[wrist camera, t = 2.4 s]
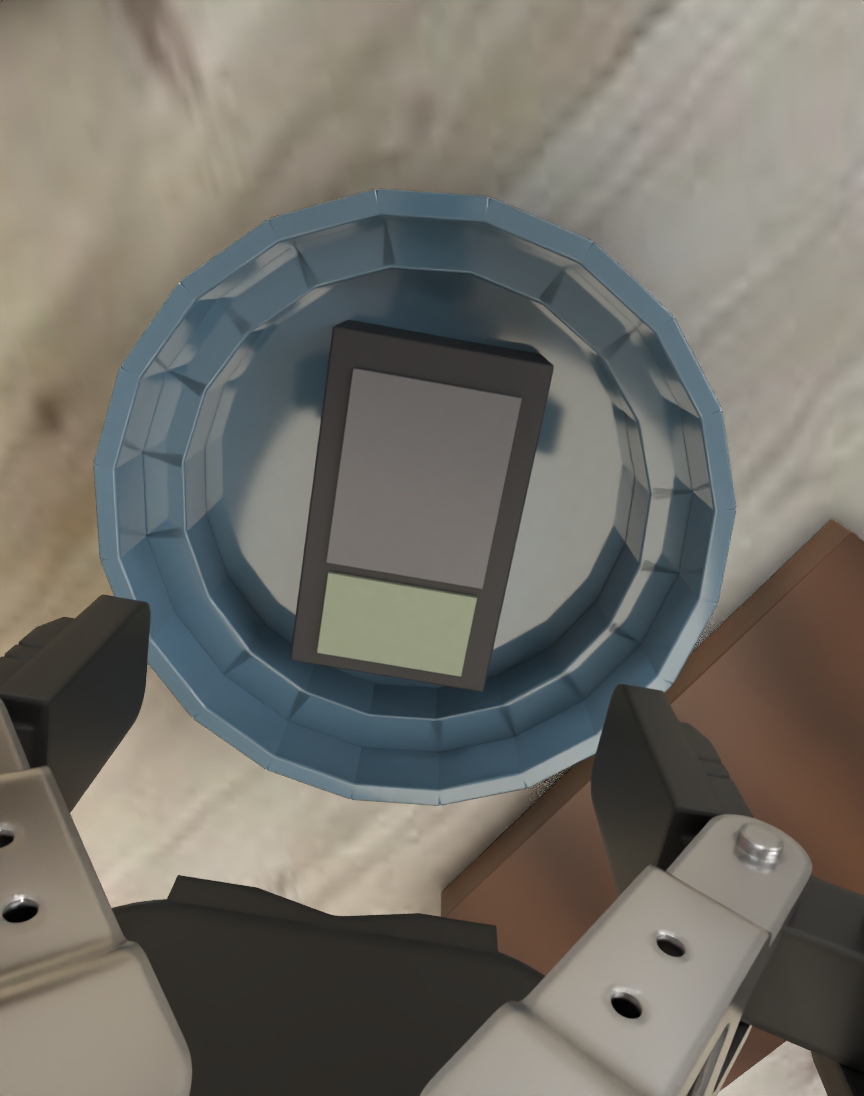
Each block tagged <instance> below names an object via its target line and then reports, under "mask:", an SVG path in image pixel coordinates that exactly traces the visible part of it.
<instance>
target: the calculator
mask: <svg viewBox="0 0 864 1096" xmlns="http://www.w3.org/2000/svg"><path fill="white" fill-rule="evenodd" d="M553 370H554V365H553V364H551V363H550V362H549V361H548V360H547V359H546V358H545V357H544V356H543V355H541V354H537V353H532V352H526V351H521V350H515V349H509V348H504V347H498V346H493V345H487V344H482V343H476V342H470V341H465V340H459V339H454V338H448V337H443V336H437V335H432V334H426V333H420V332H415V331H409V330H404V329H398V328H393V327H387V326H381V325H376V324H370V323H365V322H359V321H354V320H346V321H344V322H342V323H340V324H337V325H335V326H334V327H333V331H332V338H331V346H330V354H329V362H328V369H327V377H326V385H325V392H324V400H323V408H322V415H321V423H320V431H319V439H318V446H317V454H316V462H315V469H314V477H313V485H312V492H311V500H310V508H309V516H308V523H307V531H306V539H305V546H304V554H303V562H302V570H301V577H300V585H299V593H298V600H297V608H296V616H295V623H294V631H293V639H292V647H291V654H290V659H291V660H292V661H297V662H303V663H310V664H316V665H322V666H328V667H334V668H340V669H346V670H352V671H358V672H364V673H370V674H376V675H382V676H388V677H394V678H400V679H406V680H412V681H418V682H424V683H430V684H436V685H442V686H448V687H454V688H460V689H466V690H472V691H479V692H483V691H484V689H485V684H486V679H487V675H488V670H489V666H490V661H491V656H492V652H493V647H494V643H495V638H496V633H497V629H498V624H499V619H500V615H501V610H502V606H503V601H504V596H505V592H506V587H507V582H508V578H509V573H510V569H511V564H512V559H513V555H514V550H515V546H516V541H517V536H518V532H519V527H520V522H521V518H522V513H523V509H524V504H525V499H526V495H527V490H528V485H529V481H530V476H531V472H532V467H533V462H534V458H535V453H536V449H537V444H538V439H539V435H540V430H541V425H542V421H543V416H544V412H545V407H546V402H547V398H548V393H549V388H550V384H551V379H552V375H553Z"/></svg>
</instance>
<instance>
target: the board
mask: <svg viewBox="0 0 864 1096" xmlns="http://www.w3.org/2000/svg"><path fill="white" fill-rule="evenodd" d="M664 694H665V695H666V697H667V699H668V701H669V703H670V705H671V707H672V709H673V711H674V713H675V714H676V716H677V718H678V720H679V722H684V723H690V724H691V725H692V726H693V727H694V728H696V729H697V730H698V731H699V732H700V733H701V734H702V735H704V736H705V737H706V738H707V739H708V740H709V741H711V743H712V745H713V746H714V748H715V750H716V752H717V753H718V755H719V757H720V759H721V760H722V761H721V764H724V766H725V767H726V769H727V771H728V773H729V774H730V780H733V782H734V783H735V785H736V787H737V789H738V790H739V792H740V794H741V796H742V797H743V799H744V801H745V803H746V804H747V806H748V808H749V810H750V811H751V813H752V815H753V817H754V818H755V819H758V820H760V821H763V822H766V823H768V824H770V825H772V826H774V827H776V828H778V829H779V830H781V831H783V832H784V833H786V834H787V835H789V836H790V837H791V838H793V839H794V840H795V841H796V842H797V843H798V844H799V845H800V846H801V847H802V848H803V849H804V850H805V851H806V853H807V854H808V856H809V858H810V860H811V863H812V872H811V875H812V876H814V877H816V878H818V879H821V880H823V881H826V882H828V883H831V884H833V885H836V886H839V887H842V888H844V889H847V890H850V891H853V892H855V893H858V894H861V895H864V542H863V541H862V540H861V539H860V538H859V537H858V536H857V535H856V534H854V533H853V532H852V531H850V530H849V529H847V528H846V527H844V526H843V525H841V524H840V523H838V522H836V521H835V520H833V519H832V520H830V521H829V522H828V523H827V524H826V525H825V526H824V527H823V528H822V529H821V530H820V531H819V532H818V533H817V534H816V535H815V536H813V537H812V538H811V539H810V540H809V541H808V542H807V543H806V544H805V545H804V546H803V547H802V548H801V549H800V550H799V551H798V552H797V553H796V554H795V555H794V556H793V557H792V558H791V559H789V560H788V561H787V562H786V563H785V564H784V565H783V566H782V567H781V568H780V569H779V570H778V571H777V572H776V573H775V574H774V575H773V576H772V577H771V578H770V579H769V580H768V581H767V582H765V583H764V584H763V585H762V586H761V587H760V588H759V589H758V590H757V591H756V592H755V593H754V594H753V595H752V596H751V597H750V598H749V599H748V600H747V601H746V602H745V603H744V604H743V605H741V606H740V607H739V608H738V609H737V610H736V611H735V612H734V613H733V614H732V615H731V616H730V617H729V618H728V619H727V620H726V621H725V622H724V623H723V624H722V625H721V626H720V627H719V628H717V629H716V630H715V631H714V632H713V633H712V634H711V635H710V636H709V637H708V638H707V639H706V640H705V641H704V642H703V643H702V644H701V645H700V646H699V647H698V648H697V649H696V650H695V651H693V652H692V653H691V654H690V655H689V657H688V659H687V660H686V662H685V664H684V666H683V668H682V669H681V671H680V673H679V675H678V677H677V678H676V680H675V682H674V683H673V684H672V686H671V687H670V688H669V689H668V690H667V691H666V692H665V693H664ZM594 758H595V754H594V755H592V756H590V757H588V758H586V759H584V760H582V761H580V762H578V763H577V764H576V765H574V766H573V767H572V768H571V769H570V770H569V771H568V772H567V773H566V774H565V775H564V776H563V777H562V778H561V779H560V780H559V781H558V782H557V783H556V784H555V785H554V786H553V787H552V788H550V789H549V790H548V791H547V792H546V793H545V794H544V795H543V796H542V797H541V798H540V799H539V800H538V801H537V802H536V803H535V804H534V805H533V806H532V807H531V808H530V809H529V810H528V811H526V812H525V813H524V814H523V815H522V816H521V817H520V818H519V819H518V820H517V821H516V822H515V823H514V824H513V825H512V826H511V827H510V828H509V829H508V830H507V831H506V832H505V833H504V834H502V835H501V836H500V837H499V838H498V839H497V840H496V841H495V842H494V843H493V844H492V845H491V846H490V847H489V848H488V849H487V850H486V851H485V852H484V853H483V854H482V855H481V856H480V857H478V858H477V859H476V860H475V861H474V862H473V863H472V864H471V865H470V866H469V867H468V868H467V869H466V870H465V871H464V872H463V873H462V874H461V875H460V876H459V877H458V878H457V879H456V880H454V881H453V882H452V883H451V884H450V885H449V886H448V887H447V888H446V889H445V890H444V891H443V892H442V893H441V917H445V918H451V919H458V920H464V921H470V922H477V923H483V924H489V925H496V927H497V941H498V952H501V953H504V954H506V955H509V956H511V957H513V958H515V959H517V960H519V961H521V962H523V963H525V964H527V965H529V966H530V967H532V968H534V969H535V970H537V971H539V972H540V973H542V974H543V975H545V976H546V975H547V974H548V973H549V972H550V971H551V970H552V969H553V967H554V966H555V965H556V964H557V963H558V962H559V961H560V960H561V959H562V958H563V957H564V956H565V954H566V953H567V952H568V951H569V950H570V949H571V948H572V947H573V946H574V945H575V944H576V943H577V941H578V940H579V939H580V938H581V937H582V936H583V935H584V934H585V933H586V932H587V931H588V929H589V928H590V927H591V926H592V925H593V924H594V923H595V922H596V921H597V920H598V919H599V918H600V916H601V915H602V914H603V913H604V912H605V911H606V910H607V909H608V908H609V907H610V906H611V905H612V903H613V902H614V901H615V900H616V899H617V898H618V893H617V890H616V886H615V883H614V879H613V875H612V872H611V868H610V864H609V861H608V857H607V853H606V850H605V846H604V843H603V839H602V835H601V832H600V828H599V824H598V821H597V817H596V814H595V810H594V806H593V803H592V798H591V773H592V767H593V762H594ZM785 1041H786V1040H784V1039H782V1038H779V1037H777V1036H775V1035H772V1034H770V1033H768V1032H765V1031H763V1030H760V1029H758V1028H756V1027H753V1026H752V1027H751V1030H750V1032H749V1035H748V1037H747V1039H746V1041H745V1042H744V1044H743V1046H742V1048H741V1050H740V1052H739V1054H738V1056H737V1058H736V1060H735V1062H734V1064H733V1066H732V1068H731V1069H730V1071H729V1073H728V1075H727V1077H726V1079H725V1081H724V1083H723V1085H722V1087H721V1089H720V1091H721V1090H722V1089H723V1088H725V1087H726V1086H727V1085H729V1084H730V1083H731V1082H733V1081H734V1080H735V1079H737V1078H738V1077H739V1076H741V1075H742V1074H743V1073H744V1072H746V1071H747V1070H748V1069H750V1068H751V1067H752V1066H754V1065H755V1064H756V1063H758V1062H759V1061H760V1060H762V1059H763V1058H764V1057H766V1056H767V1055H768V1054H770V1053H771V1052H772V1051H773V1050H775V1049H776V1048H777V1047H779V1046H780V1045H781V1044H783V1043H784V1042H785Z"/></svg>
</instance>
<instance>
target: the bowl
mask: <svg viewBox="0 0 864 1096" xmlns="http://www.w3.org/2000/svg"><path fill="white" fill-rule="evenodd" d="M180 282H181V283H178V284H177V285H176V287H175V288H174V290H173V291H172V292H171V294H170V295H169V297H168V298H167V300H166V301H165V302H164V304H163V305H162V307H161V308H160V310H159V311H158V313H157V314H156V315H155V317H154V318H153V320H152V321H151V323H150V324H149V325H148V327H147V328H146V330H145V331H144V333H143V334H142V336H141V337H140V338H139V340H138V341H137V343H136V344H135V346H134V347H133V349H132V350H131V351H130V353H129V354H128V356H127V357H126V359H125V360H124V361H123V363H122V364H121V368H119V371H118V374H117V378H116V382H115V385H114V389H113V393H112V396H111V400H110V404H109V407H108V411H107V415H106V418H105V422H104V426H103V429H102V433H101V437H100V440H99V444H98V448H97V451H96V455H95V459H94V479H95V494H96V509H97V524H98V539H99V555H100V559H101V564H102V567H103V569H104V572H105V574H106V577H107V579H108V582H109V584H110V587H111V589H112V592H113V594H114V597H120V598H126V599H132V600H138V601H144V602H148V603H149V606H150V611H151V621H150V634H149V647H148V660H147V663H148V664H149V665H150V666H151V668H152V669H153V670H154V671H155V673H156V674H157V675H158V676H159V678H160V679H161V680H162V681H163V683H164V684H165V685H166V686H167V688H168V689H169V690H170V691H171V692H172V694H173V695H174V696H175V697H176V699H177V700H178V701H179V702H180V704H181V705H182V706H183V707H184V709H185V710H186V711H187V712H188V714H189V715H190V716H191V717H193V719H194V720H196V721H197V722H198V723H200V724H201V725H203V726H204V727H206V728H207V729H208V730H210V731H211V732H213V733H214V734H216V735H217V736H218V737H220V738H221V739H223V740H224V741H226V742H227V743H229V744H230V745H231V746H233V747H234V748H236V749H237V750H239V751H240V752H241V753H243V754H244V755H246V756H247V757H249V758H250V759H251V760H253V761H254V762H256V763H257V764H259V765H260V766H261V767H263V768H264V769H267V770H268V771H271V772H274V773H277V774H279V775H282V776H285V777H288V778H291V779H294V780H297V781H299V782H302V783H305V784H308V785H311V786H314V787H316V788H319V789H322V790H325V791H328V792H331V793H334V794H336V795H339V796H342V797H345V798H348V799H350V798H351V799H352V800H362V801H376V802H390V803H405V804H419V805H433V806H439V805H447V804H452V803H456V802H461V801H466V800H471V799H476V798H481V797H486V796H491V795H496V794H501V793H506V792H511V791H516V790H521V789H525V788H529V787H531V786H533V785H535V784H537V783H539V782H541V781H543V780H545V779H547V778H549V777H551V776H553V775H555V774H557V773H559V772H561V771H563V770H565V769H567V768H569V767H570V766H572V765H574V764H576V763H578V762H580V761H582V760H584V759H586V758H588V757H590V756H592V755H594V754H596V751H597V747H598V744H599V740H600V736H601V733H602V729H603V725H604V722H605V718H606V714H607V711H608V707H609V703H610V700H611V696H612V694H613V691H614V689H615V687H616V686H617V685H618V684H626V685H632V686H638V687H644V688H650V689H656V690H661V691H663V692H664V693H665V692H666V691H667V690H668V689H669V688H670V687H671V686H672V684H673V683H674V682H675V680H676V678H677V677H678V675H679V673H680V671H681V669H682V668H683V666H684V664H685V662H686V660H687V659H688V657H689V655H690V653H691V651H692V650H693V648H694V646H695V644H696V642H697V641H698V639H699V637H700V635H701V633H702V632H703V630H704V628H705V626H706V624H707V623H708V621H709V619H710V617H711V615H712V614H713V612H714V610H715V608H716V606H717V602H718V601H719V597H720V592H721V587H722V581H723V576H724V571H725V566H726V560H727V555H728V550H729V545H730V540H731V534H732V529H733V524H734V519H735V513H736V509H735V508H736V501H735V494H734V487H733V480H732V473H731V466H730V459H729V452H728V445H727V438H726V431H725V424H724V417H723V411H722V410H721V406H720V404H719V402H718V400H717V398H716V396H715V394H714V392H713V390H712V388H711V387H710V385H709V383H708V381H707V379H706V377H705V375H704V373H703V371H702V369H701V367H700V365H699V364H698V362H697V360H696V358H695V356H694V354H693V352H692V350H691V348H690V346H689V344H688V342H687V340H686V339H685V337H684V335H683V333H682V331H681V329H680V327H679V325H678V323H677V321H676V319H675V318H674V317H673V315H672V314H671V313H670V312H669V311H668V310H667V309H666V308H665V307H664V306H663V305H662V304H660V303H659V302H658V301H657V300H656V299H655V298H654V297H653V296H652V295H651V294H650V293H649V292H648V291H647V290H645V289H644V288H643V287H642V286H641V285H640V284H639V283H638V282H637V281H636V280H635V279H634V278H633V277H632V276H630V275H629V274H628V273H627V272H626V271H625V270H624V269H623V268H622V267H621V266H620V265H619V264H618V263H617V262H615V261H614V260H613V259H612V258H611V257H610V256H609V255H608V254H607V253H606V252H605V251H604V250H603V249H601V248H600V247H599V246H598V245H597V244H596V243H594V242H592V241H591V240H590V239H587V238H585V237H583V236H581V235H578V234H576V233H574V232H571V231H569V230H567V229H564V228H562V227H560V226H558V225H555V224H553V223H551V222H548V221H546V220H544V219H541V218H539V217H537V216H535V215H532V214H530V213H528V212H525V211H523V210H521V209H518V208H516V207H514V206H512V205H509V204H507V203H505V202H502V201H500V200H498V199H495V198H493V197H490V198H489V197H488V196H482V195H467V194H453V193H439V192H424V191H410V190H396V189H382V188H379V189H377V190H376V189H371V190H368V191H364V192H360V193H357V194H353V195H350V196H346V197H343V198H339V199H335V200H332V201H328V202H325V203H321V204H317V205H314V206H310V207H307V208H303V209H300V210H296V211H292V212H289V213H285V214H282V215H278V216H274V217H271V218H270V219H269V220H265V221H263V222H262V223H261V224H259V225H258V226H256V227H255V228H254V229H252V230H251V231H249V232H248V233H247V234H245V235H244V236H242V237H241V238H239V239H238V240H237V241H235V242H234V243H232V244H231V245H230V246H228V247H227V248H225V249H224V250H223V251H221V252H220V253H218V254H217V255H216V256H214V257H213V258H211V259H210V260H208V261H207V262H206V263H204V264H203V265H201V266H200V267H199V268H197V269H196V270H194V271H193V272H192V273H190V274H189V275H187V276H186V277H185V278H183V279H182V280H181V281H180ZM346 320H354V321H359V322H365V323H370V324H376V325H381V326H387V327H393V328H398V329H404V330H409V331H415V332H420V333H426V334H432V335H437V336H443V337H448V338H454V339H459V340H465V341H470V342H476V343H482V344H487V345H493V346H498V347H504V348H509V349H515V350H521V351H526V352H532V353H537V354H541V355H543V356H544V357H545V358H546V359H547V360H548V361H549V362H550V363H551V364H553V365H554V370H553V375H552V379H551V384H550V388H549V393H548V398H547V402H546V407H545V412H544V416H543V421H542V425H541V430H540V435H539V439H538V444H537V449H536V453H535V458H534V462H533V467H532V472H531V476H530V481H529V485H528V490H527V495H526V499H525V504H524V509H523V513H522V518H521V522H520V527H519V532H518V536H517V541H516V546H515V550H514V555H513V559H512V564H511V569H510V573H509V578H508V582H507V587H506V592H505V596H504V601H503V606H502V610H501V615H500V619H499V624H498V629H497V633H496V638H495V643H494V647H493V652H492V656H491V661H490V666H489V670H488V675H487V679H486V684H485V689H484V691H483V692H479V691H472V690H466V689H460V688H454V687H448V686H442V685H436V684H430V683H424V682H418V681H412V680H406V679H400V678H394V677H388V676H382V675H376V674H370V673H364V672H358V671H352V670H346V669H340V668H334V667H328V666H322V665H316V664H310V663H303V662H297V661H292V660H291V659H290V654H291V647H292V639H293V631H294V623H295V616H296V608H297V600H298V593H299V585H300V577H301V570H302V562H303V554H304V546H305V539H306V531H307V523H308V516H309V508H310V500H311V492H312V485H313V477H314V469H315V462H316V454H317V446H318V439H319V431H320V423H321V415H322V408H323V400H324V392H325V385H326V377H327V369H328V362H329V354H330V346H331V338H332V331H333V327H334V326H335V325H337V324H340V323H342V322H344V321H346Z"/></svg>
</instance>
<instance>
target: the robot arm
mask: <svg viewBox="0 0 864 1096" xmlns="http://www.w3.org/2000/svg"><path fill="white" fill-rule="evenodd" d="M150 621H151V611H150V606H149V603H148V602H144V601H138V600H132V599H126V598H120V597H114V596H108V595H101V596H100V597H98V598H97V599H96V600H95V601H94V602H93V603H92V604H91V605H90V606H88V607H87V608H86V609H85V610H84V611H83V612H82V613H81V614H80V615H79V616H77V617H76V618H75V619H74V618H68V617H62V618H60V619H57V620H54V621H52V622H49V623H46V624H44V625H41V626H39V627H36V628H35V629H34V630H33V631H31V632H30V633H29V634H28V635H27V636H25V637H24V638H23V639H22V640H21V641H20V642H19V645H15V646H14V647H12V648H11V649H10V650H9V651H8V652H6V653H5V656H4V657H1V658H0V1096H717V1095H718V1093H719V1091H720V1089H721V1087H722V1085H723V1083H724V1081H725V1079H726V1077H727V1075H728V1073H729V1071H730V1069H731V1068H732V1066H733V1064H734V1062H735V1060H736V1058H737V1056H738V1054H739V1052H740V1050H741V1048H742V1046H743V1044H744V1042H745V1041H746V1039H747V1037H748V1035H749V1032H750V1030H751V1027H752V1026H753V1027H756V1028H758V1029H760V1030H763V1031H765V1032H768V1033H770V1034H772V1035H775V1036H777V1037H779V1038H782V1039H784V1040H786V1041H789V1042H791V1043H794V1044H796V1045H798V1046H801V1047H803V1048H805V1049H808V1050H810V1051H811V1053H812V1057H813V1060H814V1063H815V1066H816V1068H817V1070H818V1073H819V1075H820V1078H821V1080H822V1083H823V1085H824V1088H825V1090H826V1093H827V1095H828V1096H864V895H861V894H858V893H855V892H853V891H850V890H847V889H844V888H842V887H839V886H836V885H833V884H831V883H828V882H826V881H823V880H821V879H818V878H816V877H814V876H812V875H811V872H812V863H811V860H810V858H809V856H808V854H807V853H806V851H805V850H804V849H803V848H802V847H801V846H800V845H799V844H798V843H797V842H796V841H795V840H794V839H793V838H791V837H790V836H789V835H787V834H786V833H784V832H783V831H781V830H779V829H778V828H776V827H774V826H772V825H770V824H768V823H766V822H763V821H760V820H758V819H755V818H754V817H753V815H752V813H751V811H750V810H749V808H748V806H747V804H746V803H745V801H744V799H743V797H742V796H741V794H740V792H739V790H738V789H737V787H736V785H735V783H734V782H733V780H730V774H729V773H728V771H727V769H726V767H725V766H724V764H721V761H722V760H721V759H720V757H719V755H718V753H717V752H716V750H715V748H714V746H713V745H712V743H711V741H709V740H708V739H707V738H706V737H705V736H704V735H702V734H701V733H700V732H699V731H698V730H697V729H696V728H694V727H693V726H692V725H691V724H690V723H684V722H679V720H678V718H677V716H676V714H675V713H674V711H673V709H672V707H671V705H670V703H669V701H668V699H667V697H666V695H665V694H664V692H663V691H661V690H656V689H650V688H644V687H638V686H632V685H626V684H618V685H617V686H616V687H615V689H614V691H613V694H612V696H611V700H610V703H609V707H608V711H607V714H606V718H605V722H604V725H603V729H602V733H601V736H600V740H599V744H598V747H597V751H596V754H595V758H594V762H593V767H592V773H591V798H592V803H593V806H594V810H595V814H596V817H597V821H598V824H599V828H600V832H601V835H602V839H603V843H604V846H605V850H606V853H607V857H608V861H609V864H610V868H611V872H612V875H613V879H614V883H615V886H616V890H617V893H618V898H617V899H616V900H615V901H614V902H613V903H612V905H611V906H610V907H609V908H608V909H607V910H606V911H605V912H604V913H603V914H602V915H601V916H600V918H599V919H598V920H597V921H596V922H595V923H594V924H593V925H592V926H591V927H590V928H589V929H588V931H587V932H586V933H585V934H584V935H583V936H582V937H581V938H580V939H579V940H578V941H577V943H576V944H575V945H574V946H573V947H572V948H571V949H570V950H569V951H568V952H567V953H566V954H565V956H564V957H563V958H562V959H561V960H560V961H559V962H558V963H557V964H556V965H555V966H554V967H553V969H552V970H551V971H550V972H549V973H548V974H547V975H546V976H545V975H543V974H542V973H540V972H539V971H537V970H535V969H534V968H532V967H530V966H529V965H527V964H525V963H523V962H521V961H519V960H517V959H515V958H513V957H511V956H509V955H506V954H504V953H501V952H498V941H497V927H496V925H489V924H483V923H477V922H470V921H464V920H458V919H451V918H445V917H439V916H432V915H426V914H420V913H416V914H391V915H366V916H334V915H330V914H327V913H324V912H321V911H319V910H316V909H313V908H311V907H308V906H305V905H302V904H300V903H297V902H294V901H292V900H289V899H286V898H283V897H281V896H278V895H275V894H273V893H270V892H267V891H265V890H262V889H259V888H256V887H249V886H243V885H237V884H230V883H224V882H218V881H211V880H205V879H199V878H193V877H186V876H180V875H178V876H177V878H176V881H175V883H174V885H173V887H172V889H171V892H170V894H169V896H168V898H167V899H163V900H151V901H144V902H136V903H131V904H127V905H122V906H118V907H114V908H111V906H110V904H109V902H108V899H107V897H106V895H105V892H104V890H103V888H102V886H101V883H100V881H99V879H98V876H97V874H96V872H95V870H94V867H93V865H92V863H91V861H90V858H89V856H88V854H87V851H86V849H85V847H84V845H83V842H82V840H81V838H80V835H79V833H78V831H77V829H76V826H75V824H74V822H73V819H72V817H71V815H70V812H71V811H72V810H73V808H74V807H75V805H76V804H77V803H78V801H79V800H80V798H81V797H82V796H83V794H84V793H85V791H86V790H87V789H88V787H89V786H90V784H91V783H92V782H93V780H94V779H95V777H96V776H97V774H98V773H99V772H100V770H101V769H102V767H103V766H104V765H105V763H106V762H107V760H108V759H109V758H110V756H111V755H112V753H113V752H114V751H115V749H116V748H117V746H118V745H119V744H120V742H121V741H122V739H123V738H124V737H125V735H126V734H127V732H128V731H129V729H130V728H131V727H132V725H133V724H134V722H135V720H136V718H137V716H138V714H139V711H140V709H141V705H142V702H143V698H144V693H145V685H146V673H147V660H148V647H149V634H150Z"/></svg>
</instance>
